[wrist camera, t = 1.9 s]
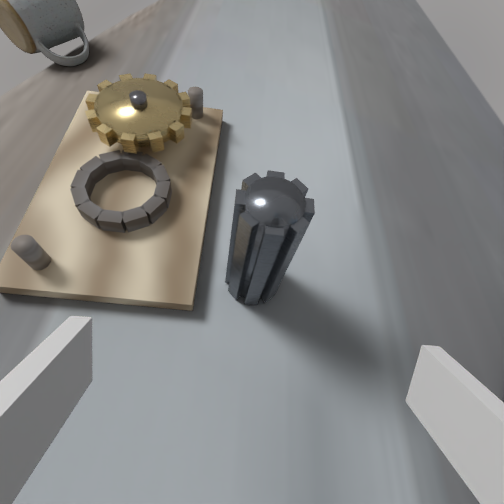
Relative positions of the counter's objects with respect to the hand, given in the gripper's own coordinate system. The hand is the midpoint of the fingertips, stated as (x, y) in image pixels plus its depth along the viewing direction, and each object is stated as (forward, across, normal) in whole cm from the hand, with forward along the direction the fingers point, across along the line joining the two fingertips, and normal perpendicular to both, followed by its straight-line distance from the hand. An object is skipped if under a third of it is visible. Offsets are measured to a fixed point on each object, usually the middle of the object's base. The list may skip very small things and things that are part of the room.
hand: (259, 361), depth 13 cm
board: (+24, -12, +4) cm, 27 cm away
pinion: (+17, +1, -3) cm, 17 cm away
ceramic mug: (+40, -27, +20) cm, 52 cm away
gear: (+27, -12, +10) cm, 31 cm away
